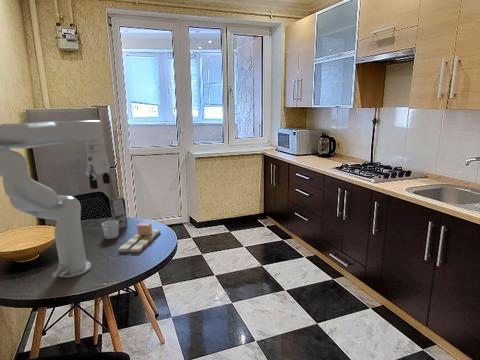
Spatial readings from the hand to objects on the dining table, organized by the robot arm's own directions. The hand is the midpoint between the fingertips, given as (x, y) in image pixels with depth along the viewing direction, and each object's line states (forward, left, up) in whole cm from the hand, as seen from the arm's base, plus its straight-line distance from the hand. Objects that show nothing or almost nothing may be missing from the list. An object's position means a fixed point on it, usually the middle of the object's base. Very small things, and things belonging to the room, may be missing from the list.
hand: (100, 185), depth 143 cm
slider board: (+7, -13, -30) cm, 34 cm away
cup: (+10, +5, -31) cm, 32 cm away
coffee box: (+28, +10, -31) cm, 43 cm away
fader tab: (+12, -13, -29) cm, 34 cm away
